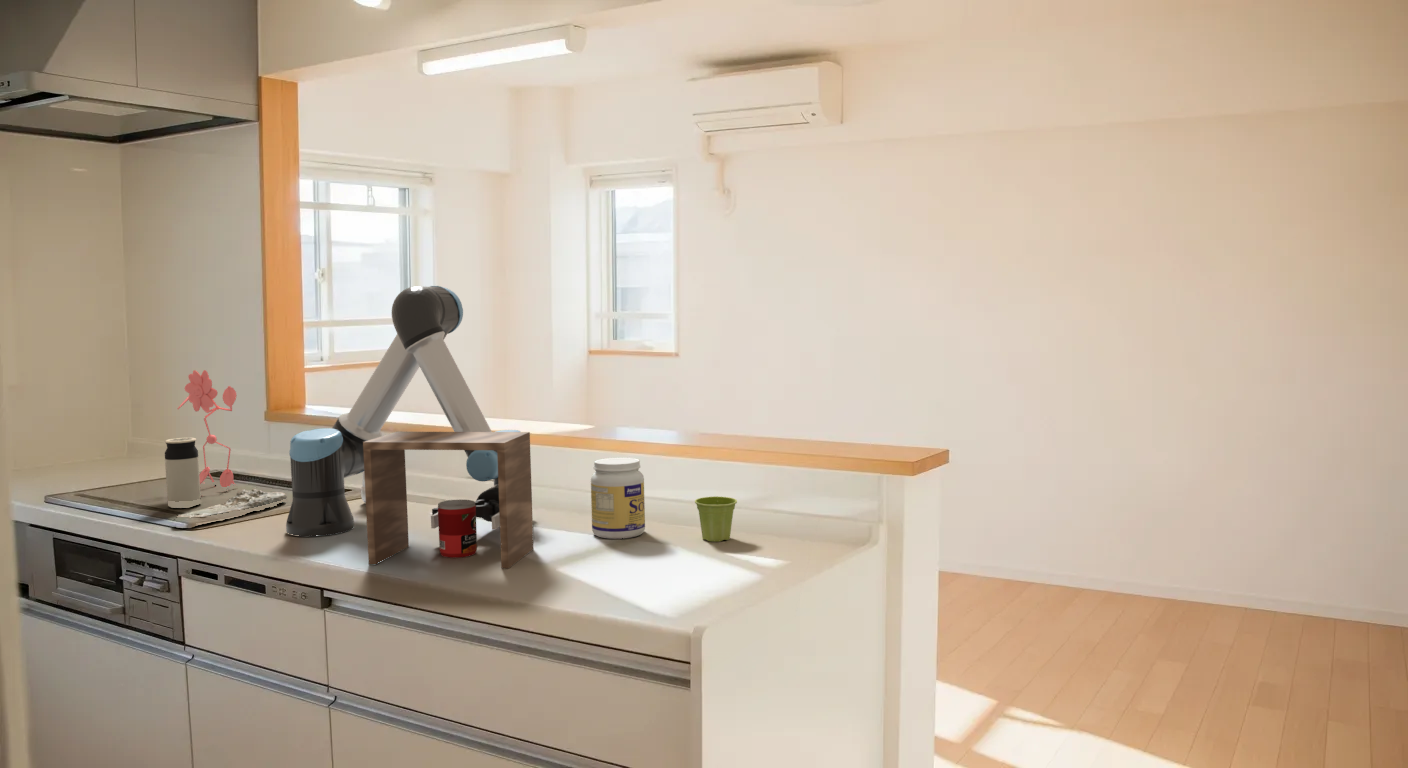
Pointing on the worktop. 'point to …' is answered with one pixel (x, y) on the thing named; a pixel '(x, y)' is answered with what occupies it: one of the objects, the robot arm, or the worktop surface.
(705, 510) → the plant pot
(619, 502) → the supplement tub
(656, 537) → the worktop surface
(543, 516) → the worktop surface
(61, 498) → the worktop surface
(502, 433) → the shelf riser
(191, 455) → the travel mug
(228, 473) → the pink flower figurine
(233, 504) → the elongated rock
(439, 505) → the canned food
